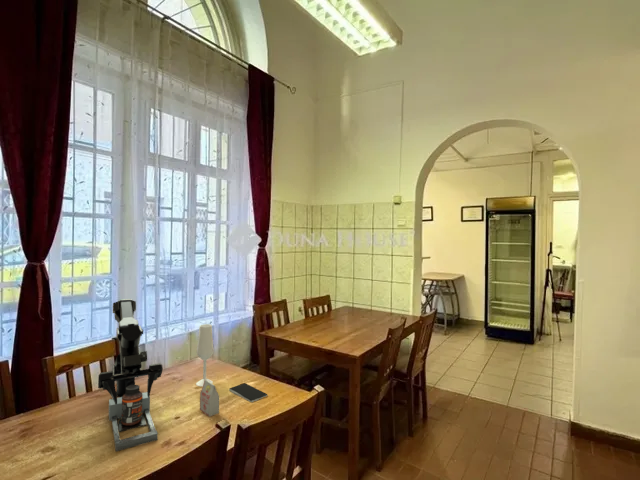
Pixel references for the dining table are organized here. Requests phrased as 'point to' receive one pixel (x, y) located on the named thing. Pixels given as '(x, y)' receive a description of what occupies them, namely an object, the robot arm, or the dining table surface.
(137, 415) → the supplement bottle
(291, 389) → the dining table surface
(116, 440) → the grey rectangular frame
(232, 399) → the dining table surface
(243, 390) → the smartphone
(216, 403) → the tea bag
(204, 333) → the champagne flute
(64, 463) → the dining table surface
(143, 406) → the gray rotary dial box
